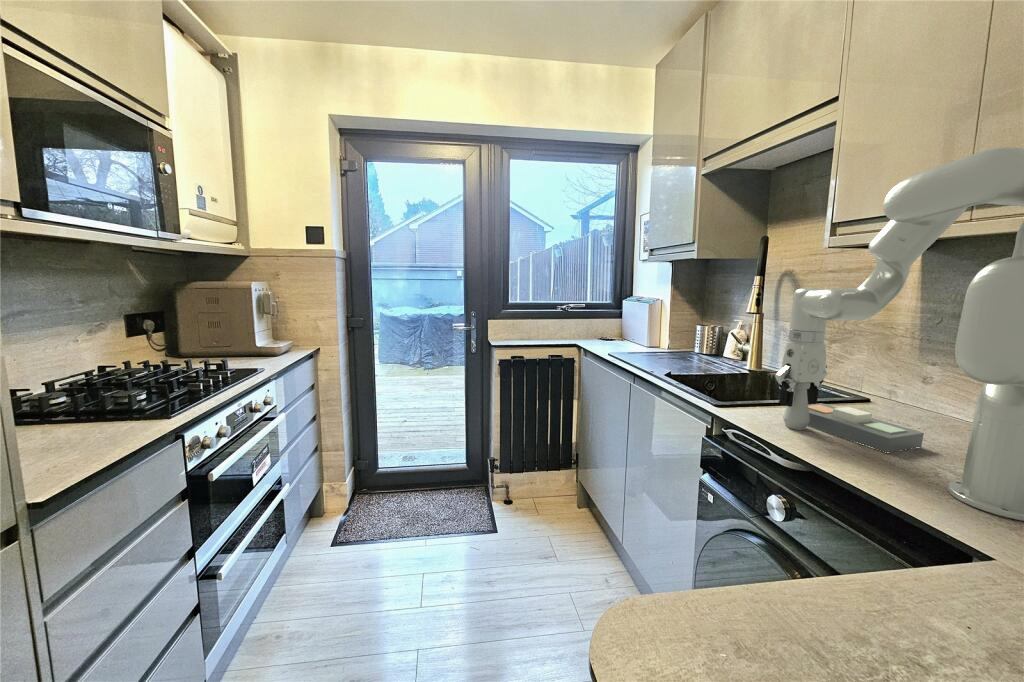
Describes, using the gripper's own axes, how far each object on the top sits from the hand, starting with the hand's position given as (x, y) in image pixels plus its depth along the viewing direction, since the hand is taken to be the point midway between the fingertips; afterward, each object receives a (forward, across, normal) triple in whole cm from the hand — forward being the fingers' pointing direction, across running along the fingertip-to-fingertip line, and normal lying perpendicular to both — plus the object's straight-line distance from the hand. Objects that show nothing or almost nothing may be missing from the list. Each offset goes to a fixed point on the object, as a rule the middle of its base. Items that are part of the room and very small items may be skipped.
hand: (797, 403), depth 111 cm
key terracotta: (+6, +11, +1) cm, 12 cm away
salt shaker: (+7, 0, 0) cm, 7 cm away
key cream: (+4, +10, -6) cm, 13 cm away
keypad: (+6, +10, -6) cm, 14 cm away
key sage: (+6, +10, -14) cm, 19 cm away
